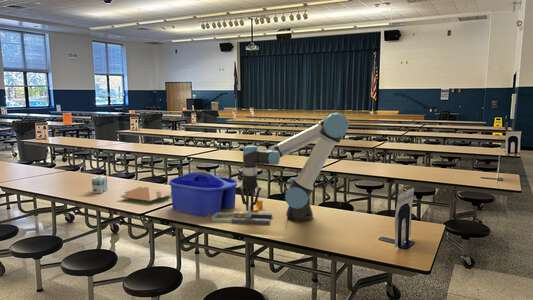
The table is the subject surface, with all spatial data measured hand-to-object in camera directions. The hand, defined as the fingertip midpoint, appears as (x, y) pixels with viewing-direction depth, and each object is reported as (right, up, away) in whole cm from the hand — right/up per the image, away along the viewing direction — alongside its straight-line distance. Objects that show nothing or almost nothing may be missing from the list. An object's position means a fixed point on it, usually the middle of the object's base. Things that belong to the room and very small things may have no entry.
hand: (249, 216), depth 204 cm
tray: (-14, -3, +3) cm, 15 cm away
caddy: (-30, 0, +27) cm, 40 cm away
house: (-72, +3, +49) cm, 87 cm away
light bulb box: (-111, +6, +67) cm, 130 cm away
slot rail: (+2, -3, 0) cm, 4 cm away
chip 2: (-3, -2, +1) cm, 3 cm away
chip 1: (-7, -2, +1) cm, 7 cm away
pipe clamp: (+3, -1, +17) cm, 18 cm away
